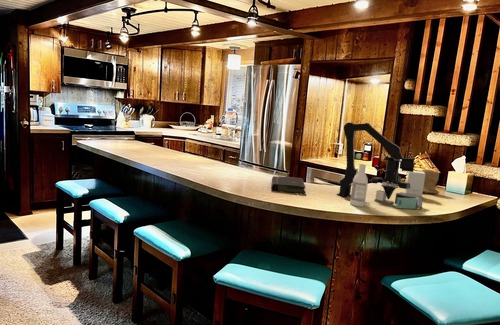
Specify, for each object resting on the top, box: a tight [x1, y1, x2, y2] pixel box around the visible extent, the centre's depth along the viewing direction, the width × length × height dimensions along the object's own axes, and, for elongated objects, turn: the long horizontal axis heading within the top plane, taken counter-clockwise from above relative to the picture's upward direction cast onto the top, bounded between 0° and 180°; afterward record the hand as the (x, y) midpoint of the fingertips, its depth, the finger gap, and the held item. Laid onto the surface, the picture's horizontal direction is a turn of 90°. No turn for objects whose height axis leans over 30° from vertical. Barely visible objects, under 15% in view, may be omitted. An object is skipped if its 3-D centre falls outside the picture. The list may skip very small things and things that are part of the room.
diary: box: [270, 175, 306, 195], centre depth 211 cm, size 19×25×5 cm
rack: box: [394, 192, 424, 210], centre depth 195 cm, size 9×12×6 cm
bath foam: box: [349, 163, 369, 208], centre depth 184 cm, size 7×7×20 cm
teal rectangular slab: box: [395, 197, 417, 210], centre depth 187 cm, size 10×2×5 cm, turn 101°
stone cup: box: [421, 168, 440, 194], centre depth 242 cm, size 15×12×15 cm
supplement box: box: [404, 170, 425, 197], centre depth 224 cm, size 9×9×15 cm
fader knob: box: [375, 189, 387, 201], centre depth 199 cm, size 4×4×5 cm
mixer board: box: [373, 199, 395, 206], centre depth 198 cm, size 6×8×1 cm
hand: (388, 199), depth 197 cm, fingers closed
